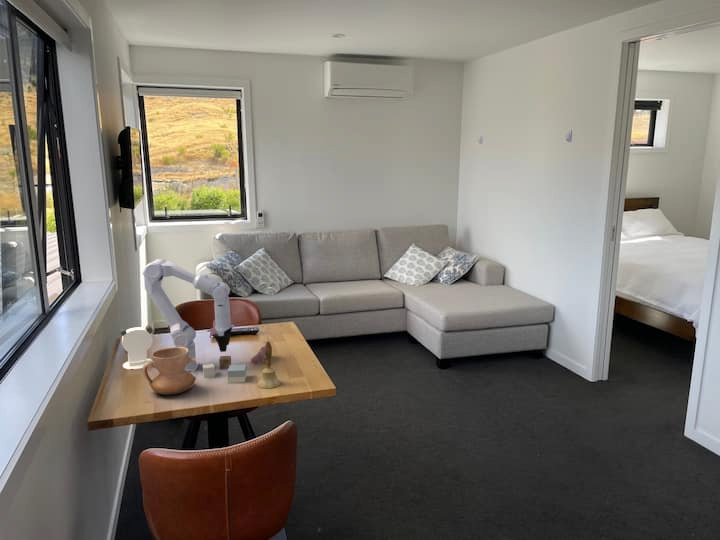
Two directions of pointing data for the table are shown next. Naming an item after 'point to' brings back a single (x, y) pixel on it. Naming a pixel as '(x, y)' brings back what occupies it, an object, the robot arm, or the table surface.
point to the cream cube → (209, 370)
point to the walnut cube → (224, 362)
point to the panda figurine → (137, 346)
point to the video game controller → (259, 356)
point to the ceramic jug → (170, 371)
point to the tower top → (237, 370)
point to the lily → (213, 330)
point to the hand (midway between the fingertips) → (224, 348)
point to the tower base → (236, 379)
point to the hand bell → (268, 371)
